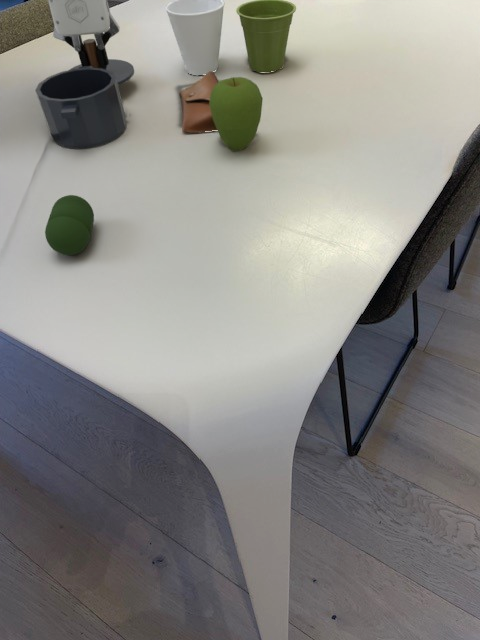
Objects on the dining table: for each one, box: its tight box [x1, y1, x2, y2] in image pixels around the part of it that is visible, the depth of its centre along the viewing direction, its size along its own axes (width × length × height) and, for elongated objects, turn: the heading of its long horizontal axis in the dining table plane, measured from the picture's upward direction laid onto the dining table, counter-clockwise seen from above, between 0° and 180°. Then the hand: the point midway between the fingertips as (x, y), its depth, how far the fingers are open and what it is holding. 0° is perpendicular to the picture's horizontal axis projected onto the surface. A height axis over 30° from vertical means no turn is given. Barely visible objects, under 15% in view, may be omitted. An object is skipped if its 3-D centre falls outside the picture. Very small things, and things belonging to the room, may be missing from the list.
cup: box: [164, 0, 225, 76], centre depth 103 cm, size 12×12×12 cm
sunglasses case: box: [178, 71, 219, 134], centre depth 92 cm, size 18×7×7 cm
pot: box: [34, 66, 128, 150], centre depth 88 cm, size 14×19×8 cm
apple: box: [209, 76, 264, 152], centre depth 79 cm, size 9×8×12 cm
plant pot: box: [235, 0, 297, 73], centre depth 102 cm, size 12×12×11 cm
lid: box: [69, 38, 135, 86], centre depth 98 cm, size 15×15×7 cm
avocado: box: [44, 194, 95, 256], centre depth 67 cm, size 10×6×6 cm, turn 3°
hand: (96, 68), depth 99 cm, fingers closed on lid, 2 cm apart
